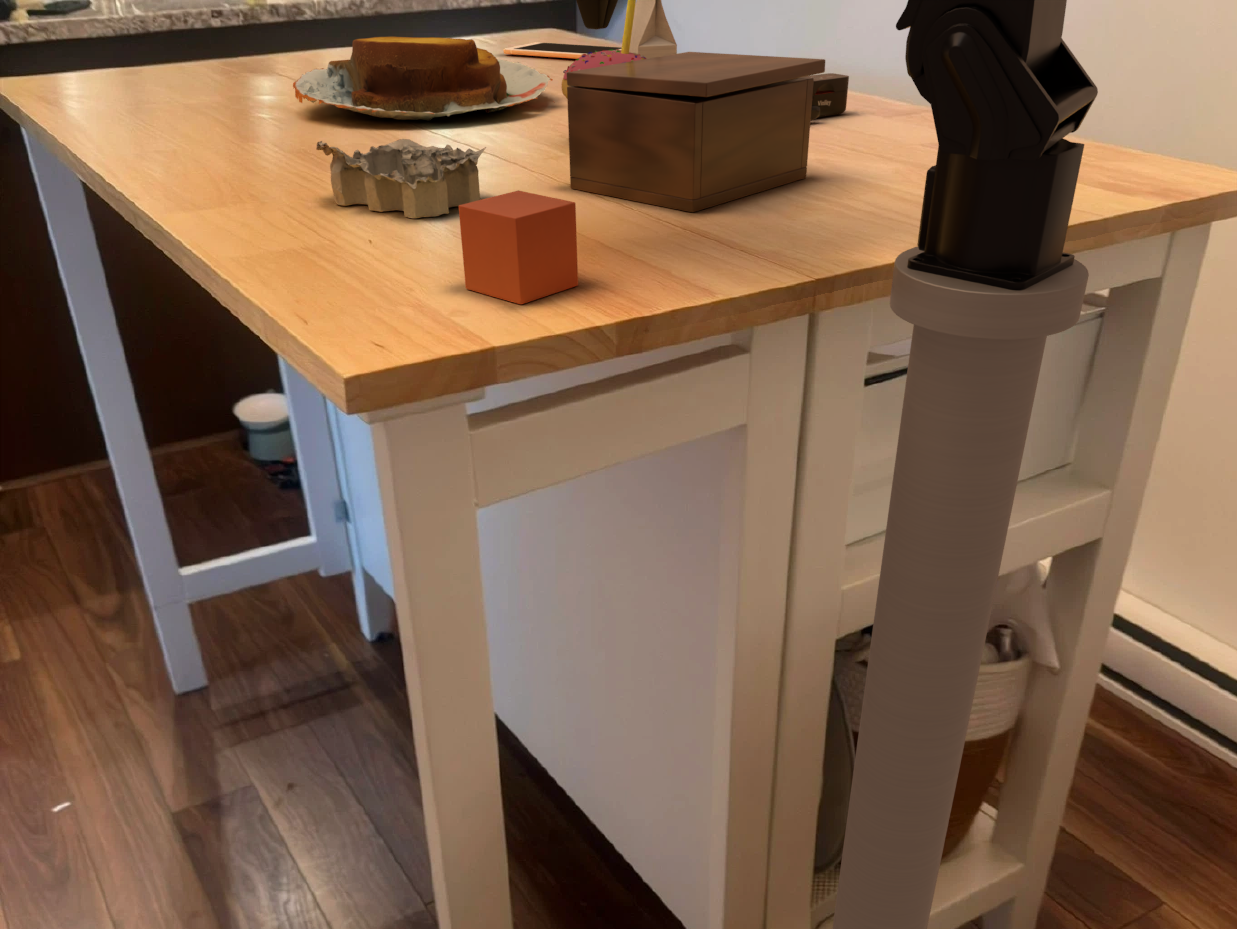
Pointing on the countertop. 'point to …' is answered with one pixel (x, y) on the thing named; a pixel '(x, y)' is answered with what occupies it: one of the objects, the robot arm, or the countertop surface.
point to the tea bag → (651, 31)
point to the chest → (688, 143)
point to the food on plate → (420, 79)
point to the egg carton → (405, 177)
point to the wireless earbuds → (829, 94)
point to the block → (519, 246)
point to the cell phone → (556, 49)
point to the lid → (696, 73)
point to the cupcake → (607, 56)
